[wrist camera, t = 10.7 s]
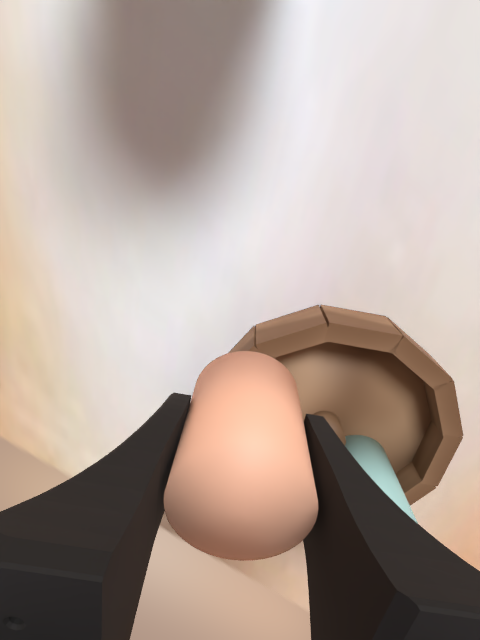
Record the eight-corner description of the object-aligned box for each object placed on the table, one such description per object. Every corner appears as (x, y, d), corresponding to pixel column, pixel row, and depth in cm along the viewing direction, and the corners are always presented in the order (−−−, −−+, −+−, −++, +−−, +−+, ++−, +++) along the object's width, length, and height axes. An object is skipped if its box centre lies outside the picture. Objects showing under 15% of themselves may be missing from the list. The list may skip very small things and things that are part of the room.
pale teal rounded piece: (314, 480, 23) (329, 558, 19) (327, 431, 22) (346, 501, 17) (376, 488, 23) (406, 567, 19) (393, 439, 22) (430, 511, 17)
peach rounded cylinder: (192, 433, 15) (162, 552, 10) (196, 345, 13) (164, 438, 9) (290, 443, 15) (305, 567, 10) (305, 356, 13) (331, 456, 9)
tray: (195, 479, 25) (188, 510, 23) (227, 287, 20) (222, 303, 17) (392, 512, 25) (406, 546, 23) (477, 332, 20) (506, 354, 18)
